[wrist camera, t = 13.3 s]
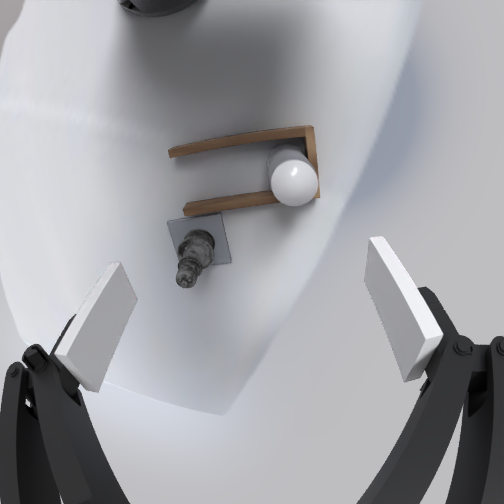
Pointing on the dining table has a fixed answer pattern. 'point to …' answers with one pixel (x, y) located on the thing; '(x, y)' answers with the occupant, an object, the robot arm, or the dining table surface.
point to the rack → (238, 139)
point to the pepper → (291, 175)
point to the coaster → (207, 223)
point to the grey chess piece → (194, 256)
